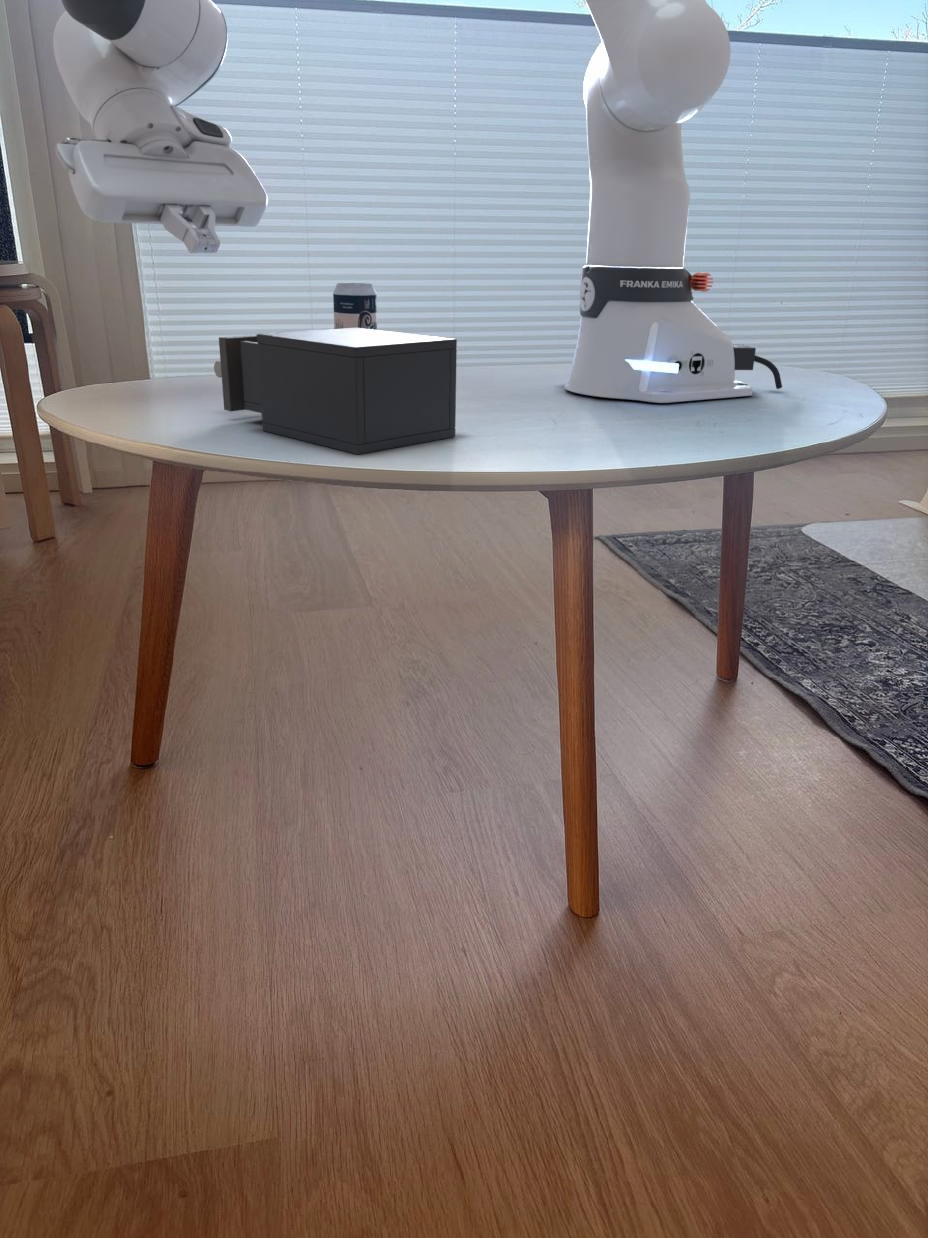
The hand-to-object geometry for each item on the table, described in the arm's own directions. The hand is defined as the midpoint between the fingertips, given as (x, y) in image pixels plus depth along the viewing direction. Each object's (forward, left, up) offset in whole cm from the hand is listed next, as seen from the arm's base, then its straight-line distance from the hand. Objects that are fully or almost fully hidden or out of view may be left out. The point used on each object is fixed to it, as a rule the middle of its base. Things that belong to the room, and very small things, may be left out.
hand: (206, 248), depth 94 cm
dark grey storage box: (-11, +21, -15) cm, 28 cm away
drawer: (-6, +12, -14) cm, 20 cm away
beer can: (-16, -1, -16) cm, 22 cm away
